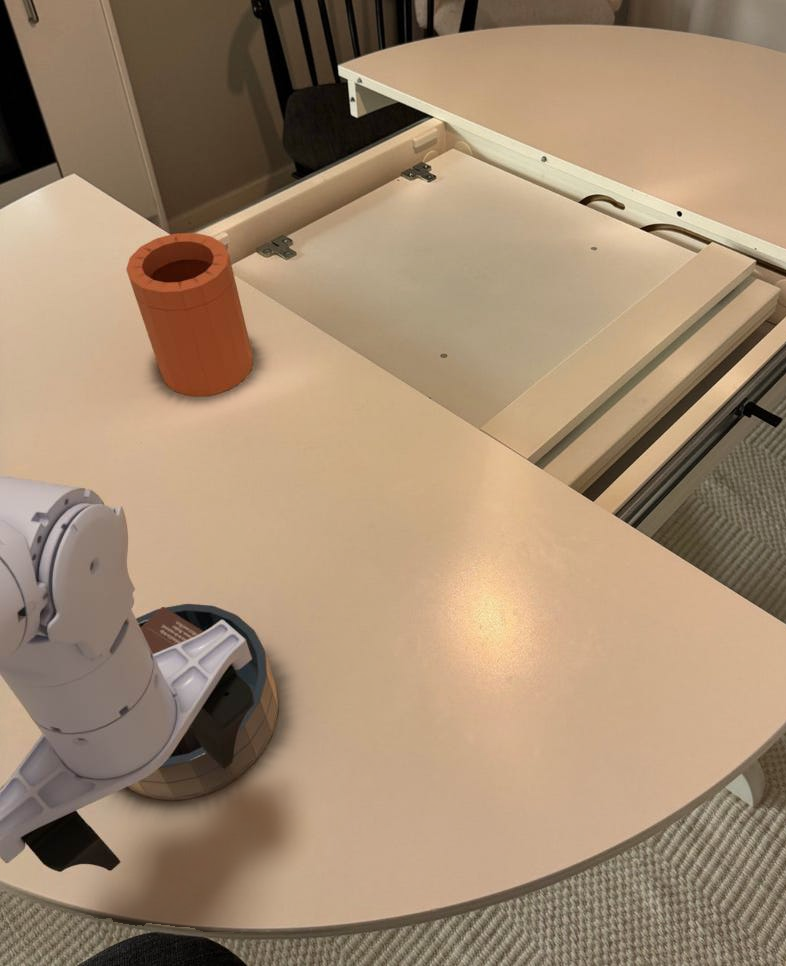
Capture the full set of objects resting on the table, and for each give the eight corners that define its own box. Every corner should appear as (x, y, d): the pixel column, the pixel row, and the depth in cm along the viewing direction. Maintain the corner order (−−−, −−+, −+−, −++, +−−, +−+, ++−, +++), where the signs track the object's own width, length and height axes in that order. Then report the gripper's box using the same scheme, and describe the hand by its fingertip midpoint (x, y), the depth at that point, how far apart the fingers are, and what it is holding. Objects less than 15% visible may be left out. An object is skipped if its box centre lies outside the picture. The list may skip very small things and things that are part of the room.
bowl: (172, 838, 62) (151, 805, 58) (66, 723, 67) (41, 687, 63) (313, 709, 68) (304, 672, 64) (206, 614, 73) (191, 575, 69)
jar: (199, 409, 88) (166, 304, 79) (143, 368, 92) (107, 263, 83) (271, 363, 92) (248, 258, 83) (215, 325, 96) (187, 221, 87)
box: (250, 702, 68) (229, 646, 62) (189, 769, 64) (161, 716, 59) (188, 661, 70) (162, 603, 64) (125, 724, 66) (93, 669, 61)
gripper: (167, 537, 49) (221, 675, 59) (-109, 733, 42) (7, 853, 52) (257, 613, 46) (298, 745, 56) (-24, 840, 38) (81, 945, 49)
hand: (163, 802), depth 54 cm, fingers open, 7 cm apart
